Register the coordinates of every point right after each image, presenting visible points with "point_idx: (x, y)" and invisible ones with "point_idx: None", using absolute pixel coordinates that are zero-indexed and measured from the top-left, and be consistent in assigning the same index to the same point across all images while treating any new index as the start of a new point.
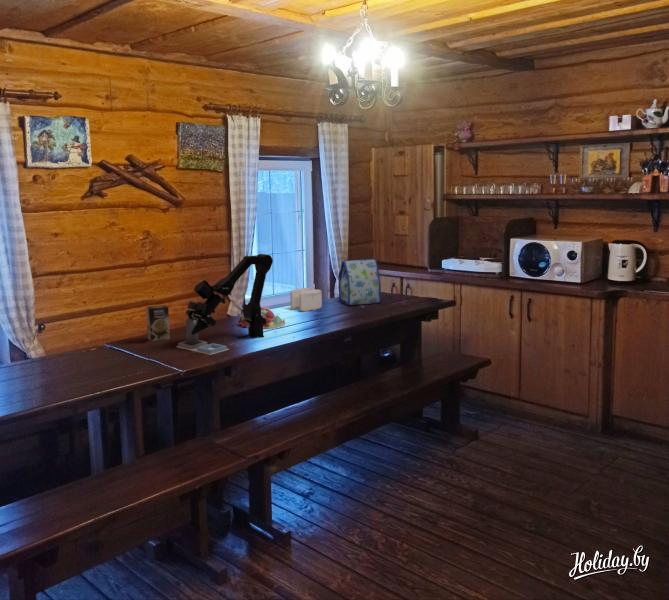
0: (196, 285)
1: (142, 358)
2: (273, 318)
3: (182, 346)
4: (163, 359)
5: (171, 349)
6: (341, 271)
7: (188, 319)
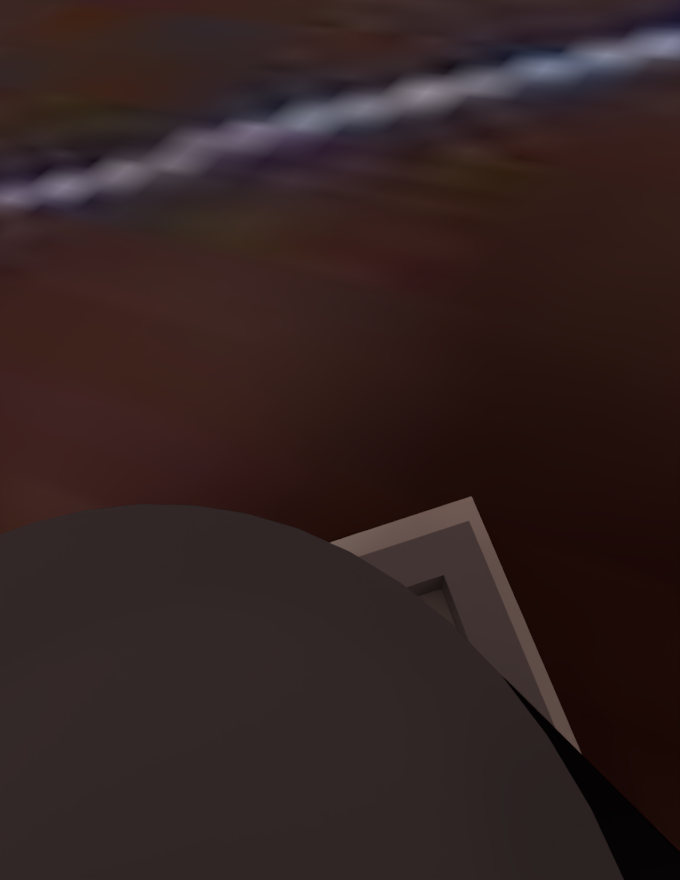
0: None
1: (267, 112)
2: None
3: None
4: (76, 247)
5: (475, 448)
6: None
7: (268, 792)
